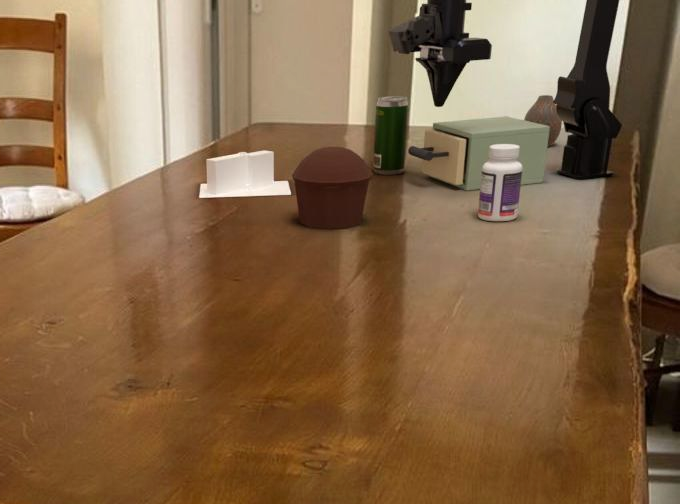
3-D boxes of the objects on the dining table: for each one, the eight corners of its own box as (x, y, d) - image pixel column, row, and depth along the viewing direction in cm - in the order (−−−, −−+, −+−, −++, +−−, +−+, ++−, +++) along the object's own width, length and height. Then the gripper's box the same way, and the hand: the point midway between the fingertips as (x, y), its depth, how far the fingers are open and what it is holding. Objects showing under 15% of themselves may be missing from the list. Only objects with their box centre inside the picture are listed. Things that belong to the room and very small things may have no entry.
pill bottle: (518, 214, 144) (526, 143, 140) (516, 222, 140) (524, 149, 135) (478, 212, 146) (485, 142, 141) (475, 221, 142) (482, 149, 137)
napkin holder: (199, 198, 163) (197, 161, 160) (199, 183, 173) (198, 149, 170) (292, 194, 162) (292, 157, 159) (287, 180, 172) (288, 145, 169)
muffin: (378, 229, 140) (382, 154, 135) (299, 233, 140) (300, 158, 135) (359, 210, 151) (362, 140, 146) (286, 214, 150) (286, 144, 145)
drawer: (431, 187, 158) (434, 142, 155) (398, 175, 168) (401, 132, 164) (526, 177, 162) (531, 133, 158) (488, 165, 171) (493, 123, 168)
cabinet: (466, 190, 159) (472, 133, 155) (428, 176, 170) (432, 122, 166) (543, 182, 162) (550, 126, 158) (501, 169, 173) (506, 116, 169)
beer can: (388, 176, 171) (392, 101, 166) (366, 172, 175) (369, 98, 170) (410, 171, 174) (415, 97, 168) (389, 167, 178) (393, 95, 172)
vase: (527, 141, 195) (533, 92, 191) (563, 143, 192) (570, 94, 187) (515, 147, 190) (520, 97, 186) (551, 149, 187) (558, 99, 183)
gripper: (371, -3, 157) (366, 103, 165) (427, 0, 141) (419, 118, 149) (435, -7, 159) (428, 98, 167) (498, -4, 144) (487, 112, 151)
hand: (438, 106), depth 158 cm, fingers closed
